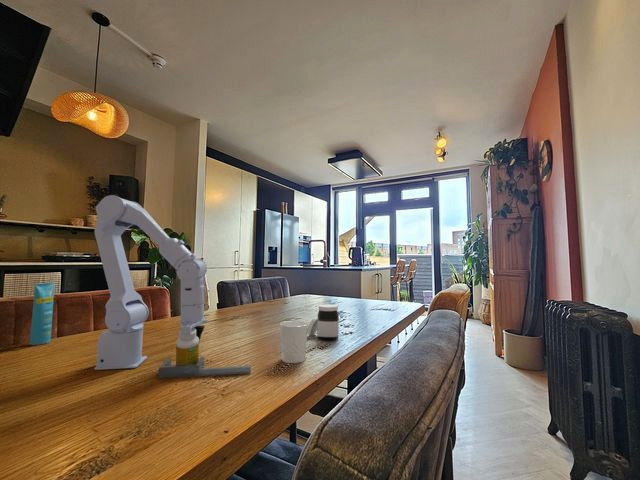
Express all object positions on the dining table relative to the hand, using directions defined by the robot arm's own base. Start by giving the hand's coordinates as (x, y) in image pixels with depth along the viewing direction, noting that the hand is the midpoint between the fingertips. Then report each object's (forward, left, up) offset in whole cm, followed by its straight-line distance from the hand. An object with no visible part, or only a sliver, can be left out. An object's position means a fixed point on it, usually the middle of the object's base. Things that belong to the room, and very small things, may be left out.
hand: (192, 355), depth 79 cm
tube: (-51, +26, -2) cm, 57 cm away
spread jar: (+40, +20, -3) cm, 45 cm away
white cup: (+27, -1, -2) cm, 27 cm away
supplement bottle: (-1, -2, -2) cm, 3 cm away
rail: (+5, -6, -2) cm, 8 cm away
